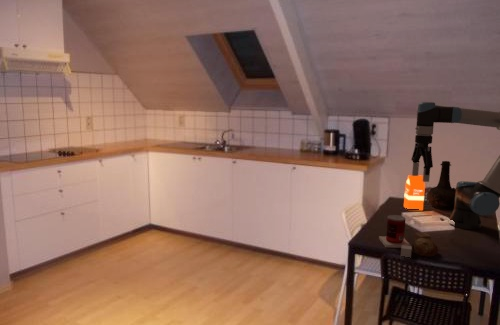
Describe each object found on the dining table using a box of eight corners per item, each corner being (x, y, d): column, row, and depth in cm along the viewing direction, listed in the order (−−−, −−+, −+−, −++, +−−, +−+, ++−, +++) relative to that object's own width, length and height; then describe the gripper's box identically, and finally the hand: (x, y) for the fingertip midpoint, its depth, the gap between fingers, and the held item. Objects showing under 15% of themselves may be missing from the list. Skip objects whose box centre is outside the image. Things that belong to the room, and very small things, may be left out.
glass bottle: (464, 212, 249) (470, 164, 244) (433, 211, 249) (438, 163, 244) (450, 203, 266) (455, 159, 261) (421, 203, 266) (425, 158, 261)
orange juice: (423, 210, 250) (426, 176, 246) (407, 210, 250) (410, 176, 246) (418, 206, 258) (421, 174, 254) (403, 206, 258) (406, 173, 254)
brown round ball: (423, 242, 197) (424, 232, 196) (430, 246, 192) (431, 235, 191) (413, 243, 196) (414, 232, 195) (420, 247, 191) (421, 236, 190)
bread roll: (411, 256, 190) (405, 240, 189) (432, 246, 190) (426, 230, 189) (421, 265, 180) (415, 248, 179) (444, 254, 180) (437, 238, 179)
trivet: (402, 239, 200) (402, 236, 200) (410, 248, 189) (411, 245, 189) (378, 238, 200) (379, 236, 200) (385, 247, 190) (386, 244, 189)
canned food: (403, 238, 197) (405, 215, 195) (403, 244, 190) (405, 220, 188) (386, 236, 200) (387, 213, 198) (385, 242, 192) (387, 218, 190)
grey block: (410, 255, 181) (411, 246, 181) (410, 258, 178) (411, 249, 177) (400, 253, 183) (401, 244, 182) (400, 257, 179) (401, 248, 178)
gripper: (406, 132, 216) (403, 173, 220) (426, 137, 192) (422, 184, 195) (421, 132, 216) (418, 173, 220) (443, 138, 192) (438, 184, 195)
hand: (420, 178), depth 208 cm, fingers open, 13 cm apart
